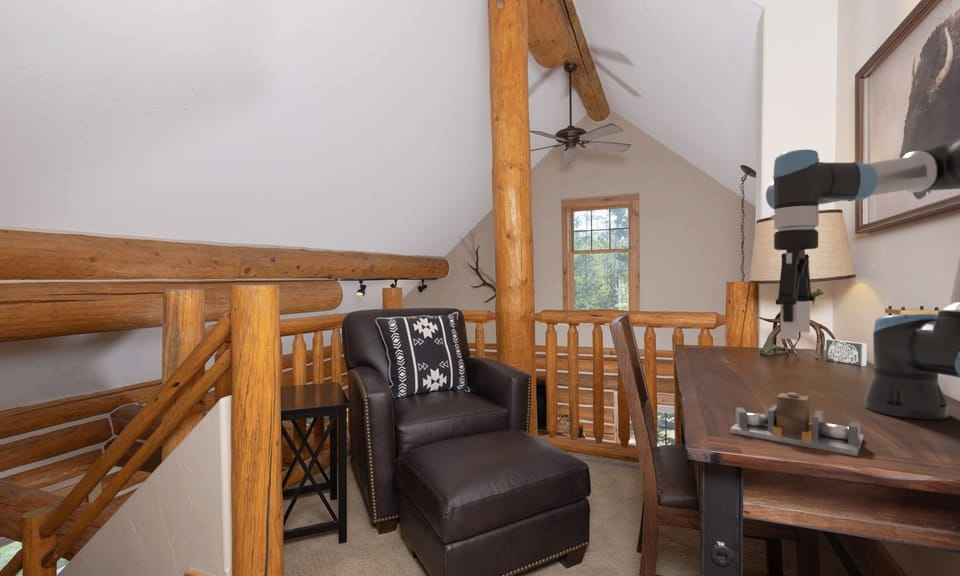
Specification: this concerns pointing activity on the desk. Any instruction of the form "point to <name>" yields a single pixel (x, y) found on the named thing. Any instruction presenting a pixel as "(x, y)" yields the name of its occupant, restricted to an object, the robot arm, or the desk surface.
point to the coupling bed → (809, 434)
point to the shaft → (750, 419)
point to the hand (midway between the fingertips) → (795, 335)
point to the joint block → (793, 412)
